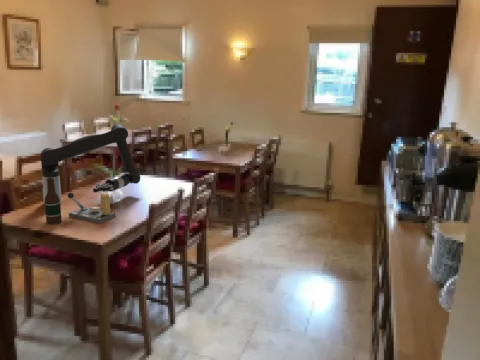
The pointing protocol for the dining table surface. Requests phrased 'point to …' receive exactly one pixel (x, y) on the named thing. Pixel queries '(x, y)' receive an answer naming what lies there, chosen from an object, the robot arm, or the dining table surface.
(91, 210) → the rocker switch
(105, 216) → the control box
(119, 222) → the dining table surface
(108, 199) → the slider knob
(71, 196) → the toggle lever
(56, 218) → the beer bottle
